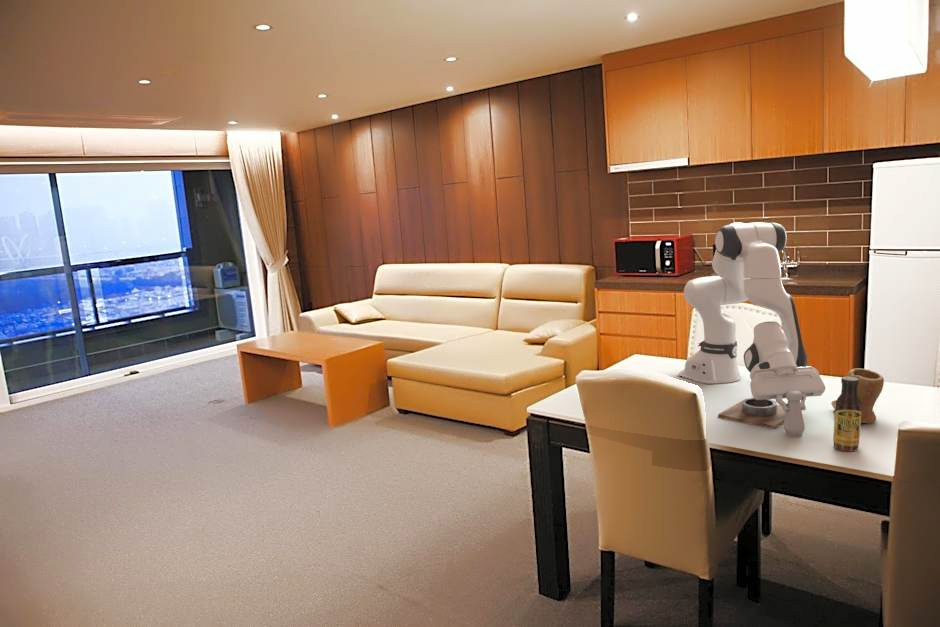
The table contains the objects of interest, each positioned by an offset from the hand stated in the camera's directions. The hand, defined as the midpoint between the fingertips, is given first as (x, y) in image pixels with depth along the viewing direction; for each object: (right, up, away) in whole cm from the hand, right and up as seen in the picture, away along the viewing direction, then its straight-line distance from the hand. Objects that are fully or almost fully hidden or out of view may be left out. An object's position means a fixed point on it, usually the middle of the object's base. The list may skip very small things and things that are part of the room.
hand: (794, 410), depth 195 cm
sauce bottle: (+9, -9, -10) cm, 17 cm away
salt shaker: (+1, -7, +2) cm, 8 cm away
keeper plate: (-2, -4, +20) cm, 20 cm away
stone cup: (+24, -4, +11) cm, 27 cm away
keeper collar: (-2, -4, +20) cm, 20 cm away
